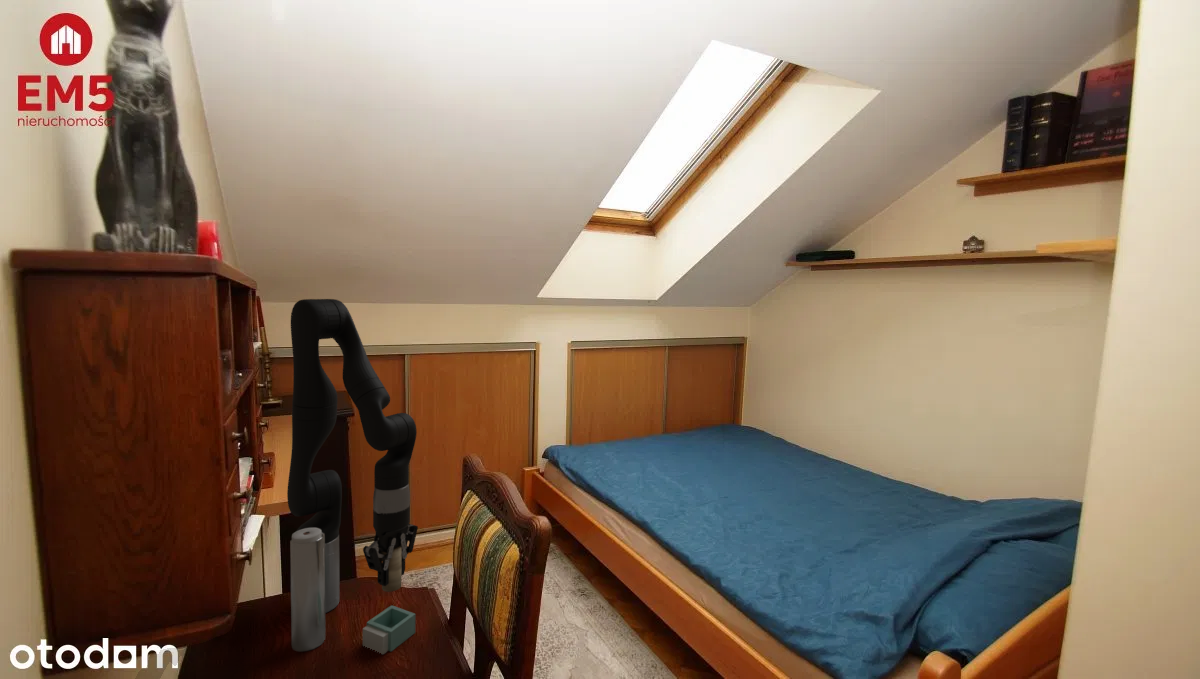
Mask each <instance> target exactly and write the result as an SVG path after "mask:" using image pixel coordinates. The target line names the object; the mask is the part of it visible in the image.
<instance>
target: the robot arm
mask: <svg viewBox="0 0 1200 679" xmlns="http://www.w3.org/2000/svg"><path fill="white" fill-rule="evenodd" d="M290 334H291V335H290V336H291V347H292V348H291V349H292V358H293V359H292V360H293V361H292V362H293V364H292V366H293V368H292V369H293V382H292V384H293V388H292V401H291V402H292V403H291V404H292V405H291V408H292V409H291V412H292V413H291V425H292V426H291V431H292V432H291V433H292V434H291V455H290V464H289V473H288V481H287V491H286V493H287V496H286V498H287V506H288V510H289V511H290V513H291V515H293V516H295V517H297V518H299V517H304V516H308V515H311V514H314V515H313V516H311V517H310V518H309V519H308V520H307V521H305V522H304V523H302V524H301V525H299V527H298V528H297V529H296V531H298V530H301V529H305V528H319V529H321V531H322V532H324V534H325V614H326V613H328V612H331V611H332V610H333V609H335V608H336V607H337V606H338V605H339V602H340V527H341V523H342V522H341V521H342V515H341V514H342V502H343V489H342V488H343V487H342V485H343V484H342V480H341V477H340V475H339V474H338V472H337V471H336V470H334V469H327V470H322V471H317V472H313V473H311V471H312V467H313V463H314V460H315V458H316V456H317V454H318V452H319V451H320V449H321V448H322V446H323V445H324V443H325V442H326V440H327V439H328V437H329V435H330V434H331V433H332V431H333V429H334V427H335V425H336V423H337V418H338V393H337V390H336V388H335V385H334V384H333V383H332V381H331V379H330V378H329V376H328V374H327V373H326V371H325V370H324V369H323V366H322V363H321V359H320V351H319V349H320V340H328V339H330V340H331V339H332V340H334V341H335V342H336V344H337V345H338V347H339V349H340V350H341V353H342V362H343V363H342V383H343V386H344V388H345V390H346V392H347V394H348V395H349V398H350V399H351V401H352V402H353V404H354V405H355V407H356V409H357V411H358V414H359V415H358V416H359V419H360V422H361V426H362V431H363V435H364V438H365V440H366V442H367V443H368V445H369V446H370V447H371V448H372V449H374V450H376V451H378V452H385V451H387V452H386V453H385V455H384V456H382V457H380V458H379V459H378V460H376V462H375V463H374V464H375V465H374V470H373V472H374V486H373V487H374V488H373V496H372V504H373V506H372V523H373V524H372V528H374V531H375V535H374V538H373V542H372V543H371V544H370V545H365V546H363V548H362V552H363V555H364V557H365V561H366V563H367V567H368V568H369V570H373V571H376V572H377V583H378V584H379V585H380V586H382V585H383V586H386V585H388V584H389V569H388V565H389V560H390V559H391V558H392V553H393V550H394V549H396V548H397V547H399V546H400V547H402V570H401V577H402V576H403V575H405V571H406V559H407V557H408V555H409V554H412V552H413V549H414V545H415V542H416V538H417V533H418V529H419V526H418V525H416V524H415V525H414V524H411V523H410V522H411V493H410V492H411V490H410V484H409V482H410V475H409V474H410V469H409V468H410V466H409V465H410V461H411V459H412V456H413V452H414V448H415V444H416V440H417V433H418V432H417V425H416V422H415V419H414V418H413V417H412V416H411V415H410V414H409V413H406V412H399V413H394V414H390V415H386V416H385V414H384V412H383V410H385V409H386V408H387V407H388V405H389V404H390V402H391V397H390V394H389V392H388V390H387V389H386V387H385V386H384V384H383V382H382V380H381V379H380V378H379V376H378V374H377V372H376V371H375V369H374V367H373V366H372V364H371V362H370V359H369V357H368V355H367V353H366V350H365V347H364V345H363V341H362V339H361V337H360V334H359V331H358V330H357V327H356V324H355V322H354V319H353V317H352V315H351V313H350V311H349V310H348V307H347V306H346V305H345V304H344V303H343V302H342V301H341V300H338V299H334V298H308V299H307V298H306V299H305V298H304V299H299V300H298V301H296V302H295V304H294V305H293V307H292V309H291V314H290ZM382 551H383V552H386V553H387V554H383V553H382ZM382 559H384V562H383V563H382Z"/></svg>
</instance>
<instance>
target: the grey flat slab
mask: <svg viewBox="0 0 1200 679" xmlns="http://www.w3.org/2000/svg"><path fill="white" fill-rule="evenodd" d="M364 646H365V647H364ZM362 647H364V648H366V647H367V648H366V649H368V648H370V649H369V650H371V649H372V650H371V651H373V650H375V651H374V652H376V651H377V652H376V653H378V652H379V653H378V654H380V653H381V655H385V654H386V653H387V652H389V651H388V633H387V632H384V631H382V630H379V629H376V628H374V627H371V626H369V625H367V624H366V626H364V627H363V628H362Z"/></svg>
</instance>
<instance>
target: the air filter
mask: <svg viewBox="0 0 1200 679" xmlns="http://www.w3.org/2000/svg"><path fill="white" fill-rule="evenodd" d="M289 543H290V545H289V546H290V548H289V549H290V607H291V608H290V610H291V611H290V618H291V619H290V620H291V621H290V622H291V624H290V625H291V628H290V629H291V648H292V650H293V651H296V652H301V653H303V652H308V651H312V650H315V649H316V648H318V647H320V646H321V645H323V643H324V642H325V641H324V640H326V613H325V534H324V532H322V531H321V529H319V528H305V529H301V530H298V531H297V530H296V531H295V532H293V533H292V534H291V540H290V541H289Z"/></svg>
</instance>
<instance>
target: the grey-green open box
mask: <svg viewBox="0 0 1200 679" xmlns="http://www.w3.org/2000/svg"><path fill="white" fill-rule="evenodd" d="M367 625H369V626H371V627H374V628H376V629H379V630H382V631H384V632H387V633H388V651H387V652H393V651H394V650H395V649H396V648H397V647H399V646H400V645H402V644H404V642H405V641H407V640H408V639H410V638H411V637H412V636H413V635H414V634H416V613H414V612H412V611H408V610H406V609H403V608H400V607H397V606H394V605H392V604H391V605H390V606H388V607H387V608H385V609H384V610H383V611H381V612H380V613H378V614H377V615H375V616H374V617H373V618H371V619H369V620H368V621H367V622H366V626H367Z"/></svg>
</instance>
